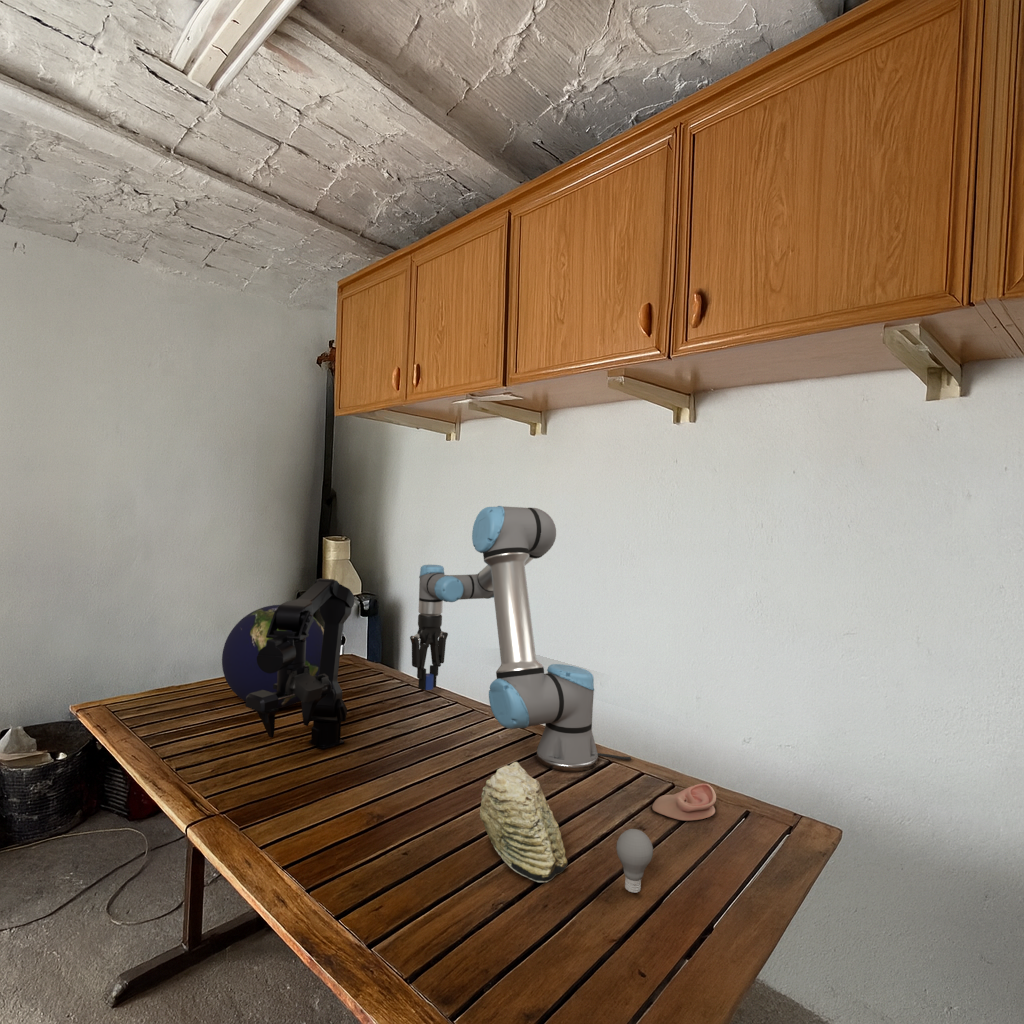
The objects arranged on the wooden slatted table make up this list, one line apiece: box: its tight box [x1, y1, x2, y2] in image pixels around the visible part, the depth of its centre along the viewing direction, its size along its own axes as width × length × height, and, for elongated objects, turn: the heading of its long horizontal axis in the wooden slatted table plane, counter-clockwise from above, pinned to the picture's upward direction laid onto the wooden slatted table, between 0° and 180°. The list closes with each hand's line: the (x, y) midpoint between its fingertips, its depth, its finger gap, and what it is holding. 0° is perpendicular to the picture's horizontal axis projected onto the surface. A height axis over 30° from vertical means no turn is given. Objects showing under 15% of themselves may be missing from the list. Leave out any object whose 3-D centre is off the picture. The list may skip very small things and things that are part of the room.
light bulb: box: [615, 828, 654, 894], centre depth 106 cm, size 6×6×10 cm
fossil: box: [479, 761, 569, 883], centre depth 114 cm, size 9×18×15 cm, turn 46°
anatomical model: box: [651, 783, 717, 822], centre depth 135 cm, size 13×4×12 cm
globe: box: [221, 604, 324, 709], centre depth 188 cm, size 30×30×30 cm
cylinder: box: [424, 672, 434, 691], centre depth 200 cm, size 4×4×4 cm
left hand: (289, 731), depth 140 cm, fingers open, 9 cm apart
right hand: (427, 687), depth 200 cm, fingers closed on cylinder, 3 cm apart
